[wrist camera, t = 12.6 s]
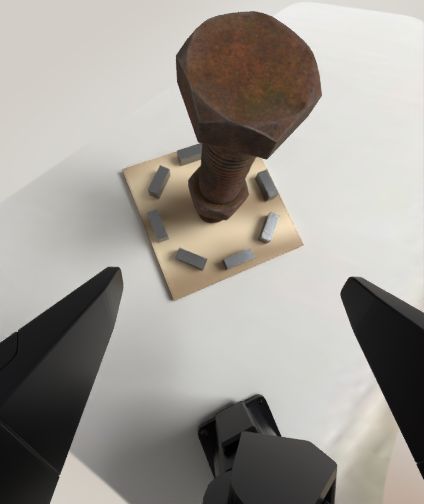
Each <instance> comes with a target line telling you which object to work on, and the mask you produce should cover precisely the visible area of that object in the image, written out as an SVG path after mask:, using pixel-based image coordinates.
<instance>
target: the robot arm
mask: <svg viewBox="0 0 424 504" xmlns="http://www.w3.org/2000/svg"><path fill="white" fill-rule="evenodd" d="M122 292H123V279H122V273H121V269H120V268H119V267H107V268H106V269H104V270H103V271H101V272H100V273H98V274H97V275H96V276H94V277H93V278H91V279H90V280H88V281H87V282H86V283H84V284H83V285H81V286H80V287H79V288H77V289H76V290H74V291H73V292H71V293H70V294H69V295H67V296H66V297H64V298H63V299H62V300H60V301H59V302H57V303H56V304H54V305H53V306H52V307H50V308H49V309H47V310H46V311H45V312H43V313H42V314H40V315H39V316H37V317H36V318H35V319H33V320H32V321H30V322H29V323H28V324H26V325H25V326H23V327H22V328H20V329H19V330H18V332H15V333H13V334H12V335H10V336H9V337H8V338H6V339H5V340H3V341H2V342H0V504H50V501H51V499H52V496H53V493H54V490H55V488H56V485H57V482H58V480H59V475H60V474H61V471H62V468H63V465H64V463H65V460H66V457H67V455H68V452H69V449H70V446H71V444H72V441H73V438H74V436H75V433H76V430H77V427H78V425H79V422H80V419H81V416H82V414H83V411H84V408H85V405H86V403H87V400H88V397H89V394H90V392H91V389H92V386H93V384H94V381H95V378H96V375H97V373H98V370H99V367H100V364H101V362H102V359H103V356H104V353H105V351H106V348H107V345H108V343H109V340H110V337H111V334H112V332H113V329H114V325H115V322H116V317H117V313H118V309H119V305H120V300H121V296H122ZM340 295H341V299H342V302H343V305H344V307H345V310H346V313H347V316H348V318H349V321H350V324H351V327H352V329H353V332H354V334H355V336H356V338H357V340H358V342H359V345H360V347H361V349H362V351H363V353H364V355H365V357H366V359H367V361H368V363H369V366H370V368H371V370H372V372H373V374H374V376H375V378H376V380H377V382H378V384H379V387H380V389H381V391H382V393H383V395H384V397H385V399H386V401H387V403H388V405H389V408H390V410H391V412H392V414H393V416H394V418H395V420H396V422H397V424H398V426H399V429H400V431H401V433H402V435H403V437H404V439H405V441H406V443H407V445H408V447H409V449H410V452H411V454H412V456H413V458H414V460H415V462H416V463H417V467H418V469H419V471H420V473H421V475H422V477H423V479H424V313H423V312H422V311H420V310H418V309H416V308H415V307H413V306H411V305H409V304H407V303H406V302H404V301H402V300H400V299H399V298H397V297H395V296H393V295H392V294H390V293H388V292H386V291H385V290H383V289H381V288H379V287H378V286H376V285H374V284H372V283H371V282H369V281H367V280H365V279H364V278H362V277H349V278H348V279H347V281H346V283H345V285H344V286H343V288H342V290H341V294H340ZM260 399H261V400H262V403H260V404H259V403H258V401H259V400H260ZM202 430H206V433H204V434H203V433H201V431H202ZM198 436H199V439H200V441H201V444H202V447H203V449H204V452H205V455H206V457H207V460H208V463H209V465H210V468H211V470H212V473H213V476H214V478H215V479H214V480H213V481H212V482H211V483H210V484H209V485H208V488H207V490H206V493H205V495H204V498H203V503H202V504H335V490H336V475H337V464H336V462H335V461H333V460H332V459H331V458H330V457H329V456H327V455H326V454H325V453H324V452H322V451H321V450H320V449H319V448H317V447H316V446H315V445H314V444H312V443H311V442H309V441H305V440H299V439H292V438H286V437H281V435H280V432H279V430H278V427H277V425H276V423H275V420H274V418H273V416H272V413H271V411H270V409H269V406H268V404H267V401H266V399H265V398H264V396H262V395H260V394H259V395H256V396H254V397H253V398H251V399H249V400H247V401H245V402H242V401H240V402H238V403H236V404H234V405H233V406H231V407H229V408H227V409H225V410H223V411H221V412H219V413H217V414H216V417H215V418H213V419H211V420H209V421H207V422H205V423H203V424H201V425H200V426H199V428H198Z"/></svg>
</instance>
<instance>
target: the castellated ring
mask: <svg viewBox="0 0 424 504" xmlns="http://www.w3.org/2000/svg"><path fill="white" fill-rule="evenodd" d="M201 154H202V143H200V144H197V145H193V146H190V147H187V148H184V149H181V150H178V151H177V158H178V160H179V163H180V165H181V166H184V165H187V164H189V163H192V162H195V161H198V160H201ZM170 176H171V175H170V169H168V168H166V167H163V166H161V165H160V166H159V168H158V170H157V172H156V174H155V176H154V178H153V180H152V182H151V184H150V186H149V188H148V192H149V195H150V196H153V197H155V198H158V199H159V198H160V196H161V194H162V192H163V190H164V188H165V186H166V184H167V182H168V180H169V178H170ZM255 180H256V182H257V184H258V186H259V188H260V191H261V193H262V195H263V197H264V199H265V201H266V202H267V201H270V200H272V199H275V197H276V196H277V195H278V194H279V193H278V191H277V189H276V187H275V185H274V183H273V181H272V179H271V177H270V175H269V173H268V171H267V169H266V170H263V171H261V172H258V173H257V175H256V177H255ZM147 215H148V217H149V220H150V222H151V225H152V227H153V230H154V232H155V235H156V237H157V240H158V242H159V243H161V242H163V241H166V240H168V239H169V237H168V235H167V232H166V230H165V227H164V225H163V223H162V220H161V218H160V215H159V213H158V210H157V209H156V210H153V211H150V212H147ZM279 217H280V215H278V214H275V213H273V212H270V213H269V214H268V215H267V216H266V219H265V221H264V224H263V227H262V229H261V232H260V235H259V238H258V240H259V241H261V242H263V243H266V244H267V243H269V242H271V239H272V237H273V234H274V231H275V228H276V225H277V223H278V220H279ZM254 258H255V256H254V254H253V252H252V249H251V248H250V249H247V250H245V251H242V252H240V253H237V254H235V255H233V256H230V257H228V258H225V259H223V260H222V262H223V264H224V267H225V269H226V270H228V269H231V268H233V267H235V266H238V265H240V264H243V263H245V262H247V261H250V260H252V259H254ZM175 259H176V260H179V261H181V262H183V263H186V264H188V265H191V266H193V267H196V268H198V269H200V270H204V267H205V265H206V262H207V260H208V259H206V258H204V257H201V256H199V255H196V254H194V253H192V252H189V251H187V250H184V249H182V248H180V247H179V249H178V252H177V254H176V256H175Z"/></svg>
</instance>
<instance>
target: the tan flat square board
mask: <svg viewBox="0 0 424 504" xmlns="http://www.w3.org/2000/svg"><path fill="white" fill-rule="evenodd" d="M160 165H161V166H163V167H166V168H168V169H170V175H171V176H170V178H169V180H168V182H167V184H166V186H165V188H164V190H163V192H162V194H161V196H160V198H159V199H158V198H155V197H153V196H150V195H149V192H148V188H149V186H150V184H151V182H152V180H153V178H154V176H155V174H156V172H157V170H158V168H159V166H160ZM200 166H201V160H198V161H195V162H192V163H189V164H187V165H184V166H181V165H180V163H179V160H178V158H177V152H174V153H171V154H168V155H165V156H162V157H158V158H155V159H152V160H149V161H146V162H143V163H140V164H137V165H134V166H131V167H128V168H125V169H122V170H123V172H124V175H125V178H126V180H127V183H128V185H129V188H130V190H131V193H132V195H133V198H134V200H135V203H136V205H137V208H138V210H139V213H140V216H141V218H142V221H143V223H144V226H145V228H146V231H147V233H148V236H149V238H150V241H151V243H152V246H153V248H154V251H155V253H156V256H157V259H158V261H159V264H160V266H161V269H162V271H163V274H164V276H165V279H166V281H167V284H168V286H169V289H170V291H171V294H172V297H173V299H174V301H175V300H177V299H179V298H182V297H184V296H186V295H189V294H191V293H193V292H196V291H198V290H200V289H203V288H205V287H207V286H210V285H212V284H214V283H217V282H219V281H221V280H224V279H226V278H228V277H231V276H233V275H235V274H238V273H240V272H242V271H245V270H247V269H249V268H252V267H254V266H256V265H259V264H261V263H263V262H265V261H268V260H270V259H272V258H275V257H277V256H279V255H282V254H284V253H286V252H289V251H291V250H293V249H296V248H298V247H300V246H303V245H304V244H303V242H302V240H301V238H300V236H299V234H298V232H297V230H296V228H295V226H294V224H293V222H292V220H291V218H290V216H289V213H288V211H287V209H286V207H285V205H284V203H283V201H282V199H281V197H280V195H279V194H278V195H277V196H276V197H275V199H272V200H270V201H267V202H266V201H265V199H264V197H263V195H262V193H261V191H260V188H259V186H258V184H257V182H256V180H255V177H256V175H257V173H258V172H261V171H263V170H266V169H267V168H266V166H265V164H264V162H263V160H262V158H259V157H256V159H255V161H254V162H253V164H252V166H251V168H250V171H249V173H248V174H247V176H246V178H245V180H246V183H247V186H248V191H249V196H248V197H247V199H246V200H245V202H244V203H243V204H242V205H241V206H240V207H239V208H238V210H237V211H236V212H235V213H234V214H233V215H232V216H231V217H230V218H229V219H228V220H222V221H221V222H218V223H207V222H204V221H203V220H202V219H201V218H200V217H199V215H198V214H197V212H196V209H195V207H194V204H193V201H192V198H191V195H190V191H189V187H188V179H189V178H190V177H191V176H192V174H193V173H194V172H195V171H196V170H197V169H198V168H199V167H200ZM267 171H268V170H267ZM268 173H269V172H268ZM269 175H270V174H269ZM270 177H271V176H270ZM271 179H272V178H271ZM156 209H157V210H158V213H159V215H160V218H161V220H162V223H163V225H164V227H165V230H166V232H167V235H168V237H169V239H168V240H166V241H163V242H161V243H159V242H158V240H157V237H156V235H155V232H154V230H153V227H152V225H151V222H150V220H149V217H148V215H147V212H150V211H153V210H156ZM270 212H273V213H275V214H278V215H280V217H279V220H278V223H277V225H276V228H275V231H274V234H273V237H272V239H271V242H269V243H267V244H266V243H263V242H261V241H259V240H258V238H259V235H260V232H261V229H262V227H263V224H264V221H265V219H266V216H267V215H268V214H269V213H270ZM179 247H180V248H182V249H184V250H187V251H189V252H192V253H194V254H196V255H199V256H201V257H204V258H206V259H208V260H207V262H206V265H205V267H204V270H200V269H198V268H196V267H193V266H191V265H188V264H186V263H183V262H181V261H179V260H176V259H175V256H176V254H177V252H178V249H179ZM250 248H251V249H252V252H253V254H254V256H255V258H254V259H252V260H250V261H247V262H245V263H243V264H240V265H238V266H235V267H233V268H231V269H228V270H226V269H225V267H224V264H223V262H222V260H223V259H225V258H228V257H230V256H233V255H235V254H237V253H240V252H242V251H245V250H247V249H250Z"/></svg>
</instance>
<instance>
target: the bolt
mask: <svg viewBox="0 0 424 504" xmlns="http://www.w3.org/2000/svg"><path fill="white" fill-rule="evenodd" d="M176 69H177V83H178V86H179V89H180V92H181V95H182V98H183V100H184V103H185V106H186V109H187V112H188V115H189V118H190V121H191V123H192V126H193V129H194V132H195V135H196V138H197V141H198V142H199V143H202V154H201V166H200V167H199V168H198V169H197V170H196V171H195V172H194V173H193V174H192V176H191V177H190V178H189V179H188V187H189V191H190V195H191V198H192V201H193V204H194V207H195V209H196V212H197V214H198V215H199V217H200V218H201V219H202V220H203V221H204V222H207V223H218V222H221V221H222V220H228V219H229V218H230V217H231V216H232V215H233V214H234V213H235V212H236V211H237V210H238V208H239V207H240V206H241V205H242V204H243V203H244V202H245V200H246V199H247V197H248V196H249V191H248V186H247V183H246V180H245V178H246V176H247V174H248V173H249V171H250V168H251V166H252V164H253V162H254V161H255V159H256V157H259V158H263V159H268V158H269V157H270V156H271V155H272V154H273V153H274V152H275V150H276V149H277V148H278V147H279V146H280V145H281V144H282V143H283V142H284V141H285V140H286V139H287V138H288V137H289V136H290V135H291V134H292V133H293V132H294V131H295V129H296V128H297V127H298V126H299V125H300V124H301V123H302V122H303V121H304V120H305V119H306V118H307V117H308V116H309V114H310V113H311V111H312V110H313V108H314V107H315V105H316V104H317V102H318V101H319V99H320V98H321V96H322V92H321V83H320V75H319V71H318V66H317V63H316V60H315V57H314V54H313V52H312V51H311V49H310V47H309V46H308V45H307V44H306V43H305V42H304V40H302V39H301V38H300V37H299V36H298V35H297V34H296V33H295V32H293V31H292V30H291V29H290V28H288V27H287V26H286V25H284V24H283V23H281V22H280V21H278V20H277V19H275V18H274V17H272V16H269V15H267V14H264V13H260V12H255V11H251V12H238V13H229V14H224V15H219V16H215V17H213V18H210V19H208V20H206V21H205V22H204V23H202V24H201V25H200V26H199V27H198V28H197V29H196V30H195V31H194V32H193V33H192V34H191V35H190V37H189V38H188V39H187V40H186V42H185V43H184V45H183V46H182V48H181V49H180V51H179V52H178V54H177V55H176Z"/></svg>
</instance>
